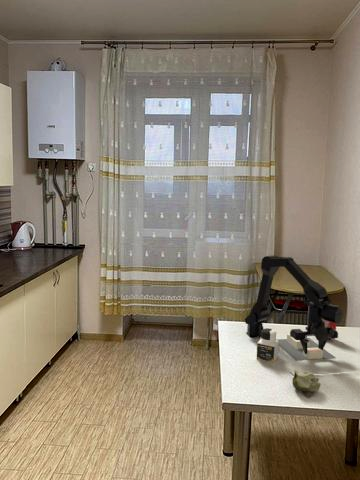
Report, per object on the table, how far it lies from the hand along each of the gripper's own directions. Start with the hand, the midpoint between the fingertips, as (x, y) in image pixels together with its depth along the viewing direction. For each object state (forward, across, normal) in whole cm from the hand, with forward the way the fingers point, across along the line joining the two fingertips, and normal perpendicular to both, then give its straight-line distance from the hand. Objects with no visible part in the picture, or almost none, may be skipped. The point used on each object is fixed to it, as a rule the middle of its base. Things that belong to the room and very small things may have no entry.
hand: (312, 353), depth 171 cm
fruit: (+2, -17, -26) cm, 31 cm away
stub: (+1, 0, 0) cm, 1 cm away
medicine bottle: (+2, -19, +2) cm, 19 cm away
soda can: (+2, +17, +18) cm, 25 cm away
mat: (+2, 0, +8) cm, 9 cm away
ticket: (+1, 0, +13) cm, 13 cm away
